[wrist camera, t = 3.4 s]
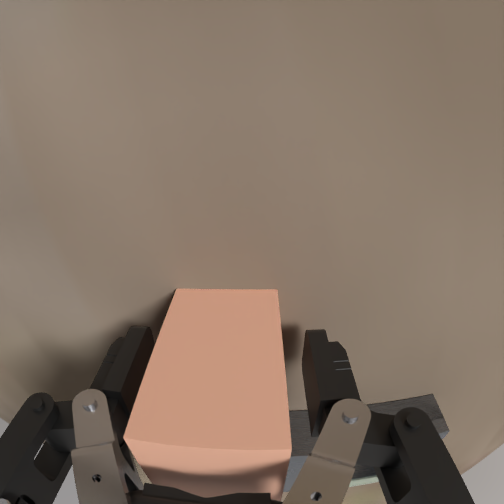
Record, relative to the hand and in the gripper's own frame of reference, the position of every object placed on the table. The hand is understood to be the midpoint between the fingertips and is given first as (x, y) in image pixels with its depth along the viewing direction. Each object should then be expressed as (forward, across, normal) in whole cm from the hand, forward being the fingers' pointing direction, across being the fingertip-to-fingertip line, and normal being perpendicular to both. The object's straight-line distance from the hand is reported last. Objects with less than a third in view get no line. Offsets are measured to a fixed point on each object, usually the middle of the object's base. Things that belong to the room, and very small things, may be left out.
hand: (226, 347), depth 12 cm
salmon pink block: (+1, 0, 0) cm, 1 cm away
